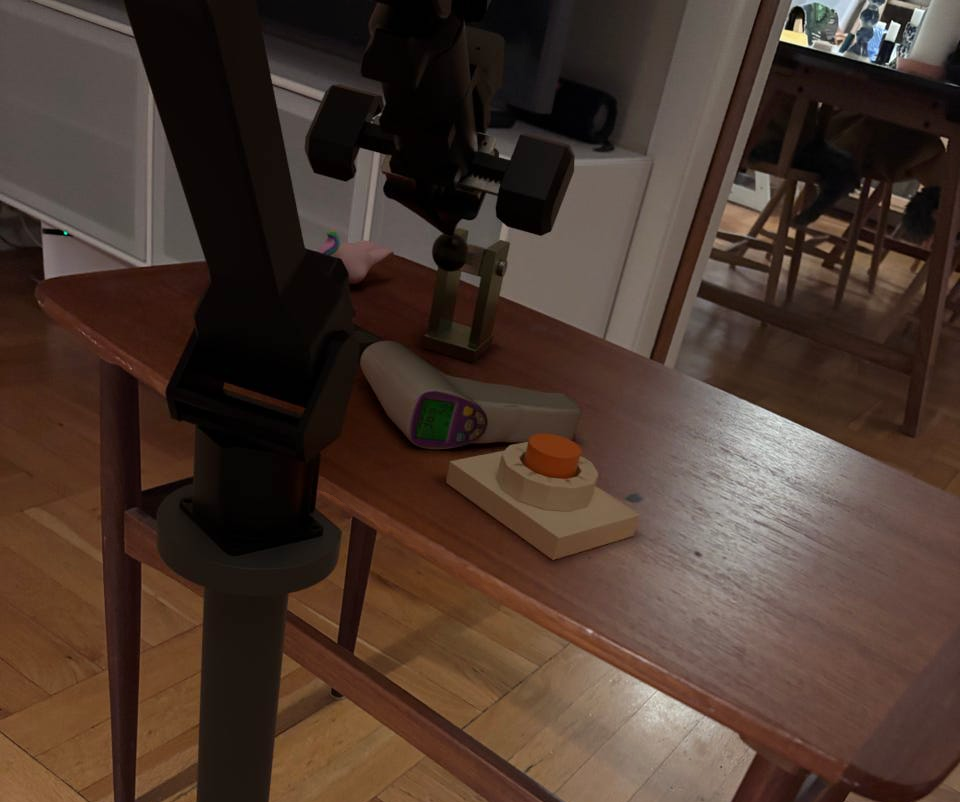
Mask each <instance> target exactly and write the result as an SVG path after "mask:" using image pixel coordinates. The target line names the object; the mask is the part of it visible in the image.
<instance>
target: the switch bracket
mask: <svg viewBox="0 0 960 802" xmlns="http://www.w3.org/2000/svg"><path fill="white" fill-rule="evenodd" d="M455 233H456V234H459V235H460V236H461V237H463V239H464V240H465V241H466V243H468V242H467V241H468V237H469V230H467V229H464V228H461V227H458V228H456V230H455ZM510 246H511V242H510V241H506V240H503V239H499V240H497V241H496V242H495V243H492V244H491V245H489V246H488V247H486V253H485V258H484V264H483V269H482V274H481V277H480V280H479V285H478V290H477V296H476V302H475V307H474V312H473V317H472V323H471V326H468V325H464V324H462V323H458V322H455V321H454V316H455V309H456V305H457V298H458V293H459V287H460V282H461V277H462V271H458V270H457V271H453V272H448V271H444V270H442V269H440V268H439V267H438V266H437V271H436V276H435V283H434V289H433V294H432V295H433V296H432V301H431V308H430V313H429V320H428V326H427V332H426V333H425V334H424V335H423V341H422V349H425V350H429V351H431V352H435V353H437V354H441V355H445V356H448V357H451V358H455V359H458V360H462V361H465V362H468V363H471V364H474V363H475V362H476V361H477V360H478V359H479V358H480V357H481V356H483V354H485V352H486V351H488V350H489V349H490V348H491V347H492V345H493V339H494V336H495V335H494V333H493V331H494V326H495V320H496V314H497V310H498V305H499V300H500V295H501V292H502V291H501V290H502V285H503V281H504V277H505V275H506V273H507V269H508V256H509V251H510Z"/></svg>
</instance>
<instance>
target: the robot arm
mask: <svg viewBox="0 0 960 802" xmlns="http://www.w3.org/2000/svg"><path fill="white" fill-rule="evenodd" d="M369 1H370V2H373V3H376V4H375V6H374V7H373V9H372V12H371V14H370V18H369V21H368V31H369V35H370V38H369V41H368V43H367V45H366V48H365V50H364V52H363V54H362V58H361V63H360V69H359V70H360V71H359V72H360V75H361V77H362V78H365V79H367V80H368V79H369V80H372V81H376V82H378V83H379V82H380V84H381V85H380V86H381V89H382V92H383V93H382V94H383V95H382V94H378V93H374V92H372V91H367V90H363V89H359V88H355V87H353V86H348V85H345V84H340V83H337V84H331V85H330V86H329V87H328V88H327V90H325V92H324V94H323V96H322V99H321V101H320V103H319V106H318V108H317V110H316V112H315V115H314V117H313V118H312V121H311V123H310V126H309V128H308V131H307V133H306V135H305V139H304V152H305V155H306V158H307V160H308V163H309V166H310V168H311V170H312V172H313V173H314V174H316V175H320V176H323V177H328V178H331V179H334V180H337V181H341V182H345V183H347V182H349V181H351V180H352V179H354V178H355V176H356V174H357V171H358V170H357V167H356V163H355V162H356V159H357V157H358V154H359V151H360V149H362V150H366V151H371V152H374V153H377V154H381V155H385V157H384V159H383V161H382V163H381V166H380V170H381V173H382V174H383V175H385V179H386V180H385V182H384V183H383V187H382V191H383V195H384V196H385V197H386V198H387V199H390V200H393V201H395V202H397V203H399V204H400V205H402V206H403V207H405V208H407V209H408V210H409V211H411V212H412V213H414V214H416V215H417V216H418V217H420V218H421V219H423V220H425V222H427V223H428V224H430V225H431V226H432V227H434V228H435V229H436V230H438V231H439V232H440V233H442V234H446V235H450V236H453V235H454V233H455V230H456V229H458V228H457V227H458V225H459V223H460V222H461V221H462V220H465V221H473V220H475V219H476V218H478V215H479V213H480V210H481V207H482V205H483V203H484V200H485V198H486V196H487V194H488V195H492V196H496V203H495V218H496V219H498V220H499V221H500V222H501V223H503V225H505V226H506V227H507V228H510V229H514V230H518V231H522V232H525V233H528V234H533V235H535V236H539V237H542V236H544V235H547V234H548V233H551V232H552V231H553V228H554V225H555V223H556V220H557V217H558V215H559V212H560V209H561V206H562V204H563V202H564V198H565V196H566V193H567V191H568V188H569V186H570V183H571V180H572V178H573V176H574V173H575V159H576V158H575V157H576V156H575V154H574V151H573V148H572V147H571V145H570V144H569V143H564V142H561V141H556V140H553V139H549V138H546V137H545V138H544V137H541V136H538V135H535V134H534V135H533V134H530V133H527V132H524V133H520V135H519V136H518V139H517V142H516V145H515V146H514V149H513V151H512V154H511V157H510V159H507V158H504V157H500V152H499V150H498V149H497V148H496V145H497V139H496V137H495V136H492V135H487V134H486V132H487V130H488V128H489V125H490V123H491V120H492V118H491V107H490V103H491V101H492V100H493V98H494V96H495V95H496V93H497V92H498V91H500V89H501V88H502V85H503V73H504V72H503V71H504V57H505V44H506V43H505V42H506V41H505V38H504V37H503V36H502V35H501V34H499V33H497V32H493V31H489V30H484V29H481V28H477V27H473V26H467V25H466V24H467V23H470V22H471V23H472V22H476V23H481V22H482V21H483V19H484V18H485V15H486V13H487V10H488V9H489V5H490V3H491V1H492V0H369ZM122 3H123V6H124V10H125V13H126V15H127V19H128V22H129V25H130V28H131V32H132V34H133V37H134V38H133V39H134V41H135V43H136V47H137V50H138V54H139V57H140V59H141V63H142V66H143V69H144V72H145V76H146V78H147V81H148V84H149V88H150V91H151V94H152V98H153V100H154V103H155V107H156V111H157V113H158V115H159V119H160V122H161V125H162V128H163V132H164V134H165V138H166V141H167V144H168V147H169V150H170V153H171V157H172V160H173V163H174V166H175V169H176V173H177V176H178V179H179V181H180V182H179V183H180V184H181V188H182V191H183V194H184V198H185V200H186V204H187V207H188V211H189V213H190V216H191V220H192V223H193V226H194V229H195V232H196V235H197V238H198V242H199V245H200V247H201V248H200V249H201V251H202V254H203V257H204V260H205V263H206V267H207V270H208V275H209V276H208V277H209V278H208V279H207V282H206V285H205V286H204V288H203V290H202V293H201V294H200V297H199V298H198V301H197V302H196V305H195V307H194V309H193V311H192V319H193V323H194V328H193V330H192V332H191V334H190V336H189V337H188V340H187V342H186V344H185V347H184V348H183V351H182V353H181V355H180V357H179V360H178V361H177V364H176V366H175V368H174V370H173V373H172V375H171V377H170V380H169V381H168V383H167V385H166V387H165V392H164V393H165V398H166V403H167V408H168V411H169V416H170V419H171V420H173V421H177V422H178V423H181V422H184V423H188V424H190V425H193V426H194V439H193V441H194V442H193V445H194V446H193V474H192V475H193V477H192V478H193V479H192V481H193V483H192V484H193V496H189V497H184V498H181V499H180V501H179V507H180V509H181V510H182V511H183V512H184V513H185V514H186V515H187V516H188V517H189V518H190V519H191V520H192V521H193V522H194V523H196V524H197V525H198V526H199V527H200V528H201V529H202V530H203V531H204V532H205V533H206V534H207V535H208V536H209V537H210V538H211V539H212V540H213V541H214V542H215V543H216V544H217V545H218V546H219V547H220V548H221V549H222V550H223V551H224V552H225V553H226V554H228V555H230V556H239V555H243V554H248V553H252V552H256V551H261V550H265V549H269V548H274V547H278V546H282V545H287V544H291V543H295V542H300V541H304V540H308V539H313V538H317V537H320V536H322V535H323V526H322V525H321V524H320V523H318V522H317V521H316V520H315V519H314V518H313V517H311V516H310V515H309V514H310V513H313V512H314V510H315V508H316V507H317V506H316V505H317V498H318V497H317V495H318V488H319V478H320V469H321V461H322V460H321V458H322V454H321V452H323V451H325V449H326V448H328V447H329V446H330V445H331V444H333V443H334V442H336V440H338V439H339V438H340V437H341V434H342V430H343V426H344V422H345V418H346V416H347V415H346V414H347V410H348V406H349V402H350V400H351V399H350V398H351V395H352V391H353V387H354V382H355V379H356V374H357V371H358V367H359V362H360V361H359V360H360V356H359V342H358V339H357V337H356V336H355V334H354V326H353V323H354V322H353V319H355V318H356V315H357V311H356V309H355V307H354V306H353V303H352V299H351V298H352V297H351V291H350V284H349V273H348V271H347V269H346V267H345V265H344V263H343V261H342V259H340V258H337V257H333V256H330V255H327V254H323V253H320V252H318V251H316V250H313V249H309V248H306V246H305V243H304V242H305V241H304V237H303V231H302V227H301V222H300V215H299V212H298V205H297V201H296V197H295V191H294V186H293V181H292V180H293V179H292V176H291V171H290V166H289V165H290V164H289V161H288V156H287V155H288V154H287V150H286V145H285V141H284V136H283V135H284V134H283V130H282V124H281V121H280V116H279V109H278V104H277V98H276V95H275V89H274V85H273V79H272V74H271V69H270V64H269V59H268V54H267V50H266V44H265V38H264V34H263V29H262V24H261V18H260V13H259V8H258V4H257V0H122ZM383 98H384V99H383ZM384 102H385V103H384ZM225 384H228V385H232V386H235V387H238V388H241V389H244V390H248V391H250V392H254V393H257V394H260V395H263V396H266V397H269V398H273V399H275V400H278V401H282V402H285V403H288V404H290V405H294V406H297V407H300V408H303V409H304V410H303V413H301V412H298V411H295V410H291V409H289V408H285V407H282V406H279V405H276V404H273V403H270V402H266V401H264V400H260V399H257V398H255V397H252V396H248V395H245V394H241V393H238V392H237V391H236V392H235V391H232V390H229V389H227V388H224V387H225Z"/></svg>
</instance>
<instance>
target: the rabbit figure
mask: <svg viewBox="0 0 960 802" xmlns="http://www.w3.org/2000/svg"><path fill="white" fill-rule="evenodd" d="M325 236H327V238H326V240H325V241H324V242H323V243H322V244H321V245H320V247H319V248H318V249H317V252H320V253H323V254H327V255H330V256H333V257H337V258H340V259H342V261H343V263H344V265H345V267H346V269H347V271H348V273H349V285H356V284H358V283H360V282H362V281H363V280H364V279H365V278H366V276H367V275H368V273H369V270H370V269H371V268H372V267H373V266H375V265H377V264H379V263H380V262H382V261H383V260H384V259H385V258H387V257H388V256H389V255H394V254H395V252H394V250H392V249H390V248H386V247H382V246H380V245H378V244H377V243H374V242H372V241H369V240H358V241H354V242H345V243H341V242H340V237H339V235H338V234H337V232H336V231H335V230H330V231H328V232H327V233H325ZM340 243H341V244H340Z"/></svg>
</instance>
